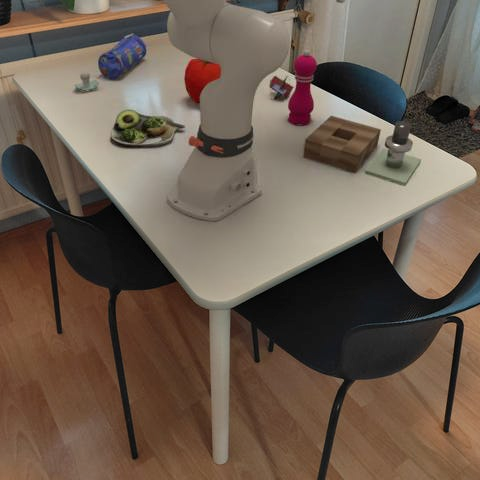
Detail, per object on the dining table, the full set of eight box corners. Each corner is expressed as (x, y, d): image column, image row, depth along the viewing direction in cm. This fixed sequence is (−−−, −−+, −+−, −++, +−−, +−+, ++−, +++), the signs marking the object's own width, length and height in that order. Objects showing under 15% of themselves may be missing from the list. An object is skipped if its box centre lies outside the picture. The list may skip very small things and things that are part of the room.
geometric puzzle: (300, 89, 155) (288, 66, 152) (293, 97, 150) (280, 74, 148) (282, 99, 160) (269, 76, 157) (274, 107, 155) (261, 84, 152)
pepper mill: (310, 127, 140) (319, 55, 128) (285, 124, 141) (291, 53, 129) (313, 116, 146) (322, 46, 133) (288, 113, 147) (295, 43, 134)
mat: (404, 185, 119) (405, 182, 118) (364, 173, 122) (365, 170, 122) (420, 162, 127) (421, 159, 127) (382, 150, 131) (383, 148, 131)
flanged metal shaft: (402, 174, 121) (412, 133, 114) (376, 166, 124) (385, 126, 117) (409, 162, 125) (420, 122, 118) (385, 155, 128) (394, 116, 121)
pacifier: (72, 88, 157) (78, 95, 153) (68, 69, 153) (74, 75, 149) (94, 84, 160) (101, 90, 156) (91, 64, 156) (98, 70, 152)
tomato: (195, 90, 158) (193, 47, 149) (232, 97, 155) (233, 53, 146) (178, 106, 148) (175, 61, 140) (217, 114, 145) (217, 68, 137)
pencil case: (126, 56, 179) (123, 29, 173) (149, 59, 178) (146, 31, 171) (98, 79, 163) (93, 50, 156) (123, 83, 161) (119, 53, 155)
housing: (354, 173, 122) (358, 155, 119) (303, 156, 128) (305, 139, 125) (377, 146, 133) (381, 129, 130) (328, 132, 138) (331, 115, 135)
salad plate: (187, 119, 143) (186, 103, 140) (182, 150, 129) (181, 134, 126) (119, 117, 143) (117, 102, 140) (107, 149, 129) (104, 133, 126)
